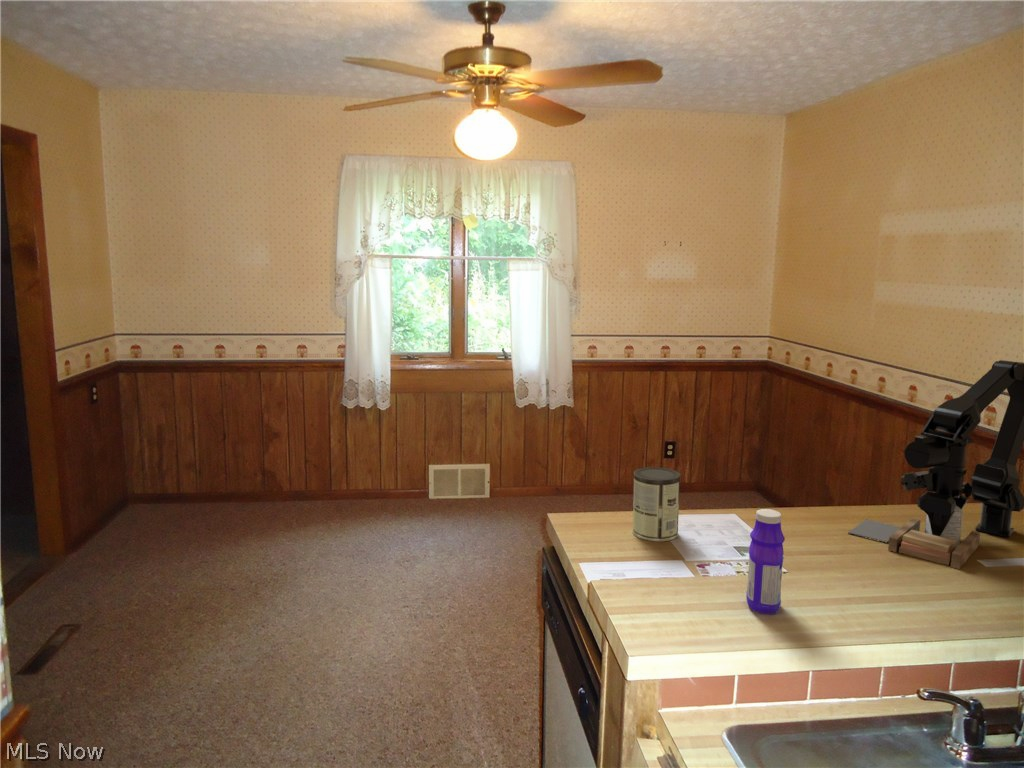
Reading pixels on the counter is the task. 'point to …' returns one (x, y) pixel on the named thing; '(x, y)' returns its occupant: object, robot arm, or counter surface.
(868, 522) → the mat
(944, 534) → the medicine box
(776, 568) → the bottle
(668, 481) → the coffee can
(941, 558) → the offcut stack
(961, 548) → the rack
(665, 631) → the counter surface
